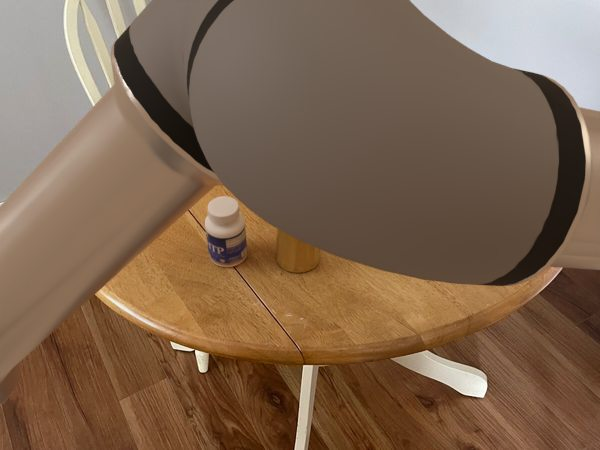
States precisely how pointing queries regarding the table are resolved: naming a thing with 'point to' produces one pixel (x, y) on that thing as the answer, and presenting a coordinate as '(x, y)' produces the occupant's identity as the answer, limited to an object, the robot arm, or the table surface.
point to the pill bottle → (225, 232)
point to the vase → (295, 254)
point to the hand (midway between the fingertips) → (368, 148)
